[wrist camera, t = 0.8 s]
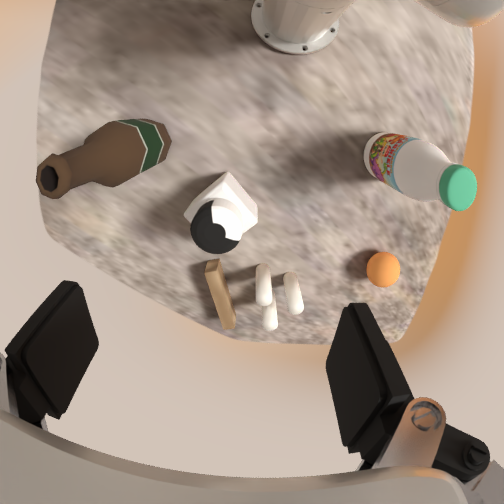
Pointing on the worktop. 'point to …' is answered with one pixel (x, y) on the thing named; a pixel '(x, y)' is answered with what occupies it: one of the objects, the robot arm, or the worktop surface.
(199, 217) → the medicine bottle
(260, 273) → the pin
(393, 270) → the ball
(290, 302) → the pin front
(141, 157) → the beer bottle
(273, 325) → the pin
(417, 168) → the milk bottle
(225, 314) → the bar
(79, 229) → the worktop surface
